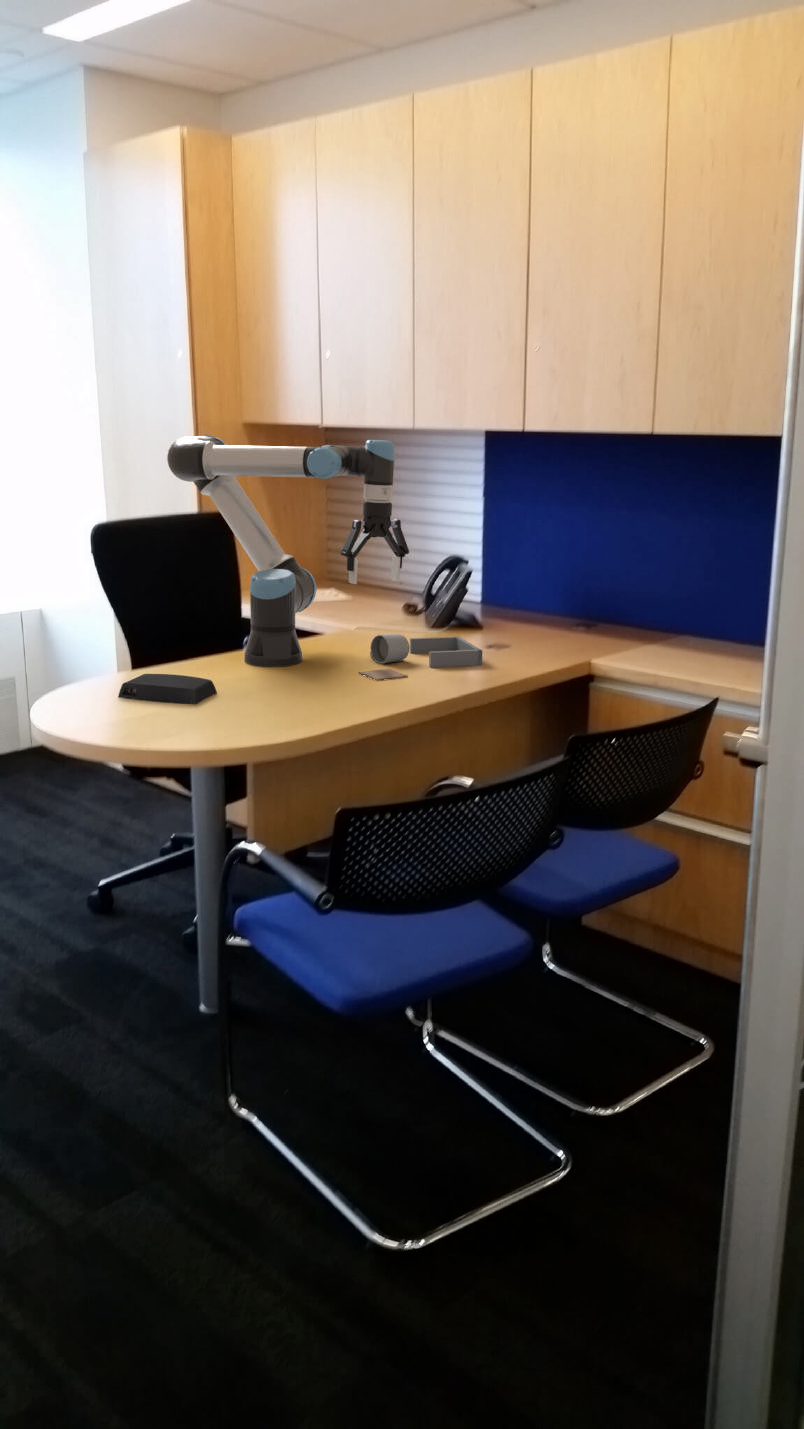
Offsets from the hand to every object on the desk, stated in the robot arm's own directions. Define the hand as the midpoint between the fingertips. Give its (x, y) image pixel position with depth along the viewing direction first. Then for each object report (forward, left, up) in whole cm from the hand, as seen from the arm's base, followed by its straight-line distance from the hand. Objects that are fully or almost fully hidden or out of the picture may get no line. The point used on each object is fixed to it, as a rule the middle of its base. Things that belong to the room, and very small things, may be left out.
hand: (374, 582), depth 304 cm
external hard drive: (-57, -32, -21) cm, 69 cm away
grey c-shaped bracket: (+18, -6, -20) cm, 28 cm away
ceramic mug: (+2, -5, -21) cm, 21 cm away
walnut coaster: (-3, -22, -21) cm, 30 cm away
